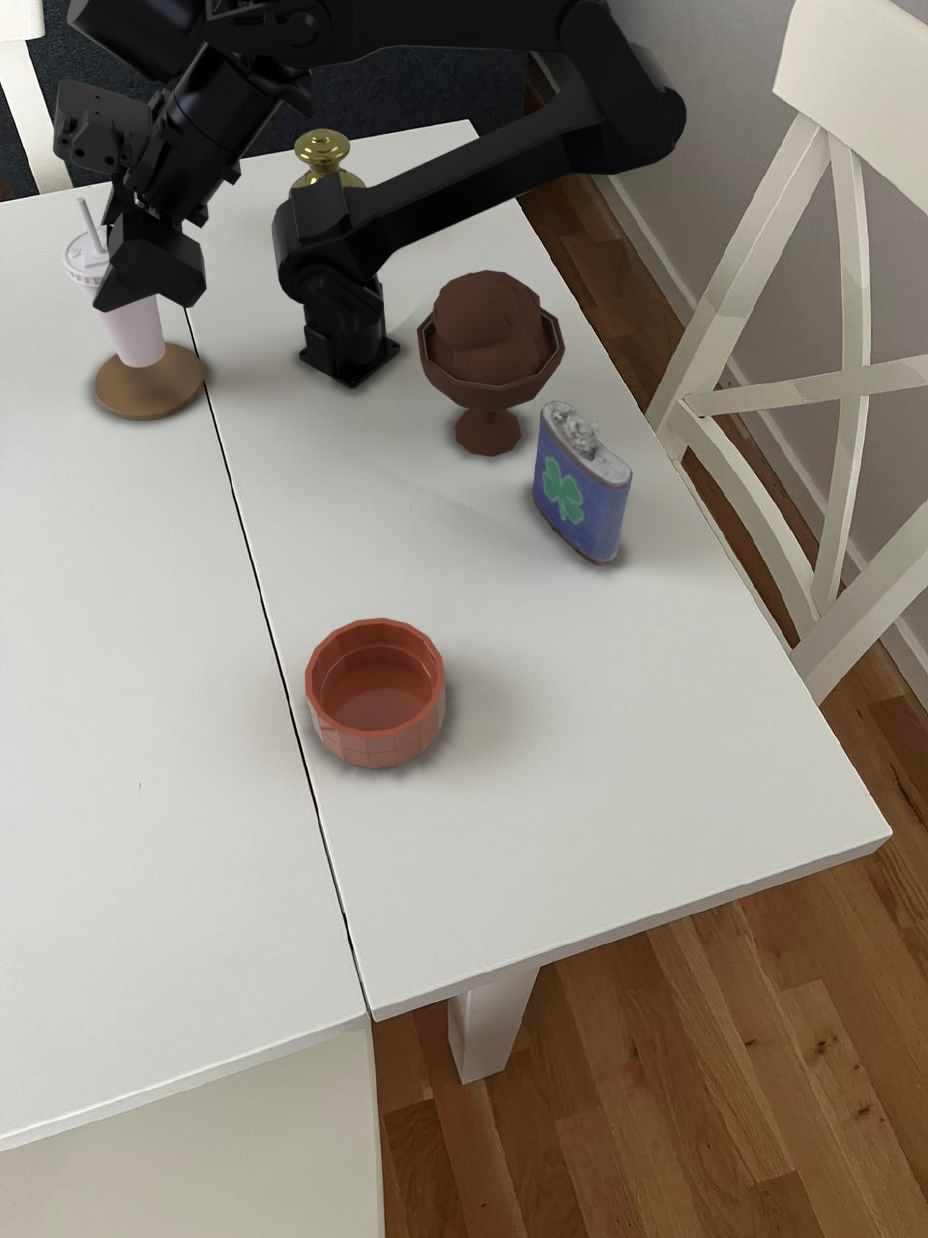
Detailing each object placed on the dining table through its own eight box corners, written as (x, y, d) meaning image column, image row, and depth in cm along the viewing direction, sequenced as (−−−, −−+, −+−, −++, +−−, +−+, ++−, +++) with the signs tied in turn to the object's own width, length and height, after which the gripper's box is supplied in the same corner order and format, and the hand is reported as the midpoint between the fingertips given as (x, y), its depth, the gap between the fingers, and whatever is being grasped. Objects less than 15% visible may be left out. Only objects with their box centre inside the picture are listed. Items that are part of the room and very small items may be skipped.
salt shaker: (289, 217, 97) (273, 116, 89) (363, 206, 98) (354, 106, 90) (300, 262, 93) (284, 161, 85) (378, 250, 94) (369, 150, 86)
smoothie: (86, 364, 80) (19, 207, 69) (135, 317, 83) (79, 160, 72) (150, 388, 78) (92, 231, 67) (197, 339, 82) (150, 182, 70)
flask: (623, 557, 73) (644, 455, 64) (591, 574, 72) (608, 473, 63) (551, 479, 77) (561, 373, 68) (520, 494, 76) (526, 389, 68)
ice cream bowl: (545, 489, 77) (560, 334, 64) (406, 468, 78) (394, 312, 66) (565, 396, 82) (582, 237, 70) (435, 378, 84) (429, 219, 71)
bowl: (373, 633, 69) (368, 596, 65) (471, 700, 66) (471, 665, 62) (286, 720, 65) (276, 685, 61) (386, 795, 62) (381, 763, 58)
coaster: (155, 333, 87) (153, 328, 87) (226, 376, 84) (225, 371, 83) (74, 389, 83) (71, 383, 83) (146, 436, 80) (144, 431, 79)
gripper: (98, -25, 67) (-3, 152, 75) (98, 120, 56) (-19, 307, 64) (239, 79, 74) (133, 230, 82) (261, 224, 64) (138, 381, 72)
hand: (98, 280), depth 75 cm, fingers closed on smoothie, 6 cm apart
